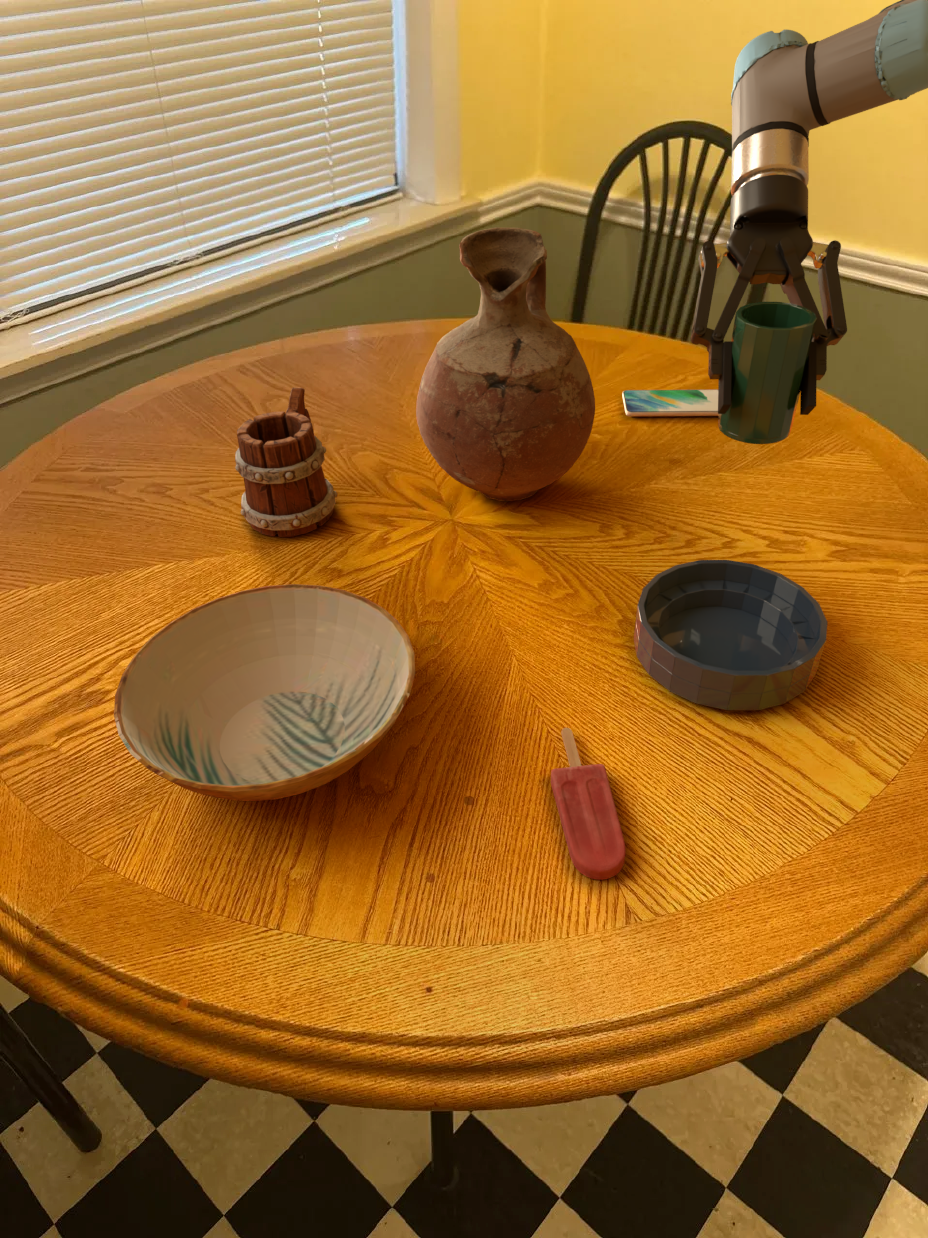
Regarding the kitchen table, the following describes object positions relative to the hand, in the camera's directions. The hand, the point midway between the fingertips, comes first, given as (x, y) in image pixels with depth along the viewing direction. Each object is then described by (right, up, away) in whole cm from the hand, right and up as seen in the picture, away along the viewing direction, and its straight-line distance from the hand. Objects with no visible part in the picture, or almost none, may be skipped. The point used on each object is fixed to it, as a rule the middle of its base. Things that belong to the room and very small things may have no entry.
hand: (766, 409), depth 86 cm
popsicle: (-20, -36, -15) cm, 44 cm away
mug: (-52, -7, +22) cm, 57 cm away
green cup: (+1, -1, +5) cm, 5 cm away
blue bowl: (-5, -24, -1) cm, 25 cm away
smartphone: (+1, +10, +40) cm, 41 cm away
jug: (-25, -3, +25) cm, 36 cm away
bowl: (-47, -32, -8) cm, 57 cm away
